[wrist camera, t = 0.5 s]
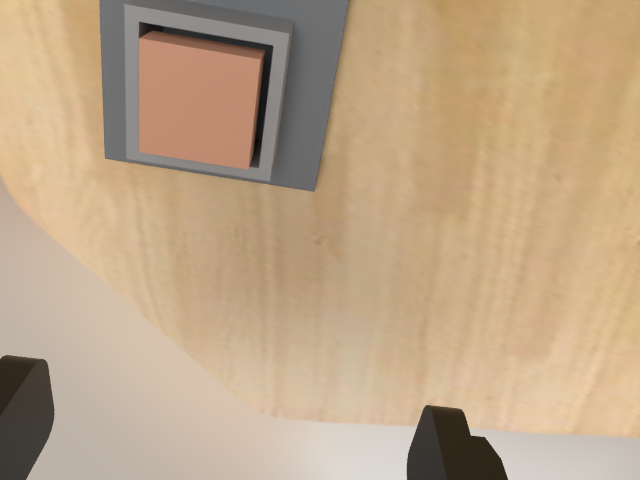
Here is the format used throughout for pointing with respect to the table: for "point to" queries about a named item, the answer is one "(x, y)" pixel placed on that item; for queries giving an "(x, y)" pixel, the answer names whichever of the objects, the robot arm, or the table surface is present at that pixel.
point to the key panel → (276, 87)
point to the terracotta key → (198, 99)
